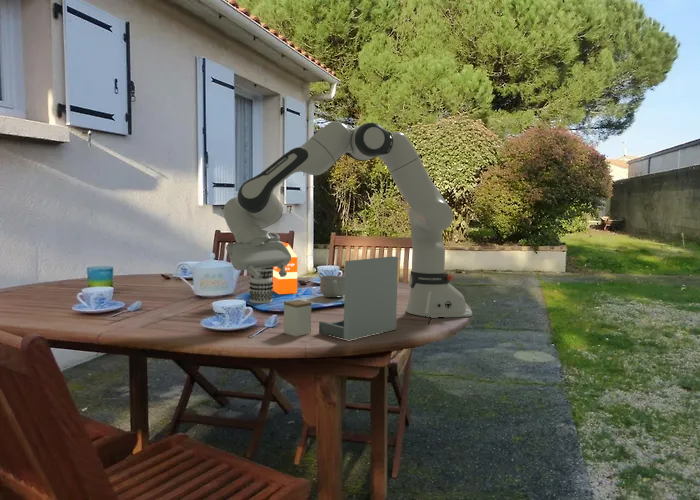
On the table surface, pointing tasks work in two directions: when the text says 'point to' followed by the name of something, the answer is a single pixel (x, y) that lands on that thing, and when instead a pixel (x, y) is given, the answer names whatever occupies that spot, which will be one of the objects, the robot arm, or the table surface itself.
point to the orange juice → (290, 280)
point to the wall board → (367, 299)
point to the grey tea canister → (297, 317)
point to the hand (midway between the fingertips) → (271, 277)
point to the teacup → (332, 286)
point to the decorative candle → (262, 287)
